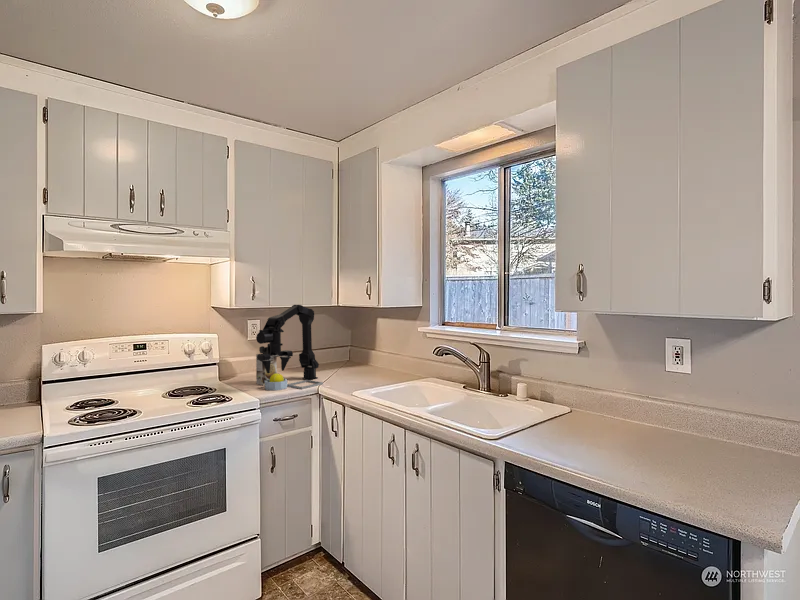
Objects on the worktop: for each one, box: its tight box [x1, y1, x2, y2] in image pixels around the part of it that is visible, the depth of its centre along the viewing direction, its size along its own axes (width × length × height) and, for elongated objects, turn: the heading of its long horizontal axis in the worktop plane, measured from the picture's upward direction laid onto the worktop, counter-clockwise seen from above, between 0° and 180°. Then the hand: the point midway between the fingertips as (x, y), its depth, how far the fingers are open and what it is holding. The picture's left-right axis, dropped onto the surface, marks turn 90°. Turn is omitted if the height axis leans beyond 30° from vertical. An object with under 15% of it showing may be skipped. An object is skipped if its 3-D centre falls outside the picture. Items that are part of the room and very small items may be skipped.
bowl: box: [264, 378, 288, 391], centre depth 238 cm, size 11×11×4 cm
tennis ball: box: [270, 372, 285, 382], centre depth 238 cm, size 7×7×7 cm
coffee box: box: [255, 353, 278, 386], centre depth 250 cm, size 9×6×16 cm
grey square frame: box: [287, 379, 324, 390], centre depth 244 cm, size 15×13×1 cm
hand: (275, 371), depth 237 cm, fingers open, 9 cm apart
